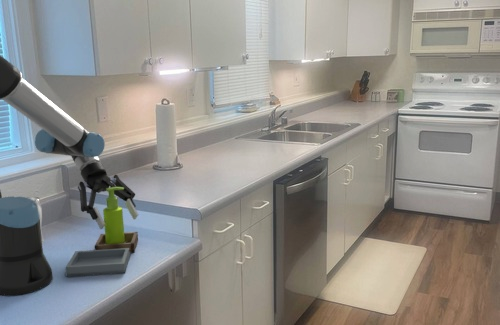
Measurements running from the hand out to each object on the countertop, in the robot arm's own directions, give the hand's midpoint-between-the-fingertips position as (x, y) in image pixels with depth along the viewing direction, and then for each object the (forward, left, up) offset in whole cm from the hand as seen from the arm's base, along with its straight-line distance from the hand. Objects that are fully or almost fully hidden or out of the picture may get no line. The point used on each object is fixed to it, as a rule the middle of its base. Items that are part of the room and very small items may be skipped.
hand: (119, 221), depth 156 cm
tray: (-5, -13, -9) cm, 17 cm away
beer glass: (-31, +12, -9) cm, 34 cm away
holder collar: (-2, +2, -9) cm, 10 cm away
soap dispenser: (-2, +2, -9) cm, 10 cm away
